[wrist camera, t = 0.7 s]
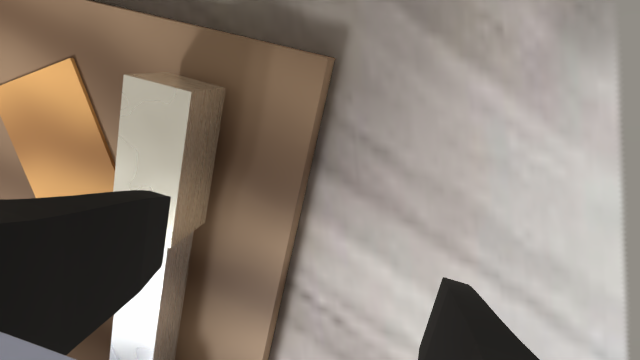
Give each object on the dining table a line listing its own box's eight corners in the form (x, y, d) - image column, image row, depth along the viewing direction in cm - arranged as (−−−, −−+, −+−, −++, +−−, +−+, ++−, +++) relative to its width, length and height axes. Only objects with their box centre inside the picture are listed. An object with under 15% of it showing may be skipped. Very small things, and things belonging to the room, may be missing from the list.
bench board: (253, 426, 25) (241, 451, 23) (-105, 294, 29) (-137, 308, 27) (334, 58, 19) (327, 57, 18) (-128, -52, 23) (-170, -60, 21)
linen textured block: (181, 433, 23) (141, 494, 20) (119, 409, 24) (70, 465, 21) (237, 90, 18) (196, 96, 15) (156, 69, 19) (99, 71, 15)
